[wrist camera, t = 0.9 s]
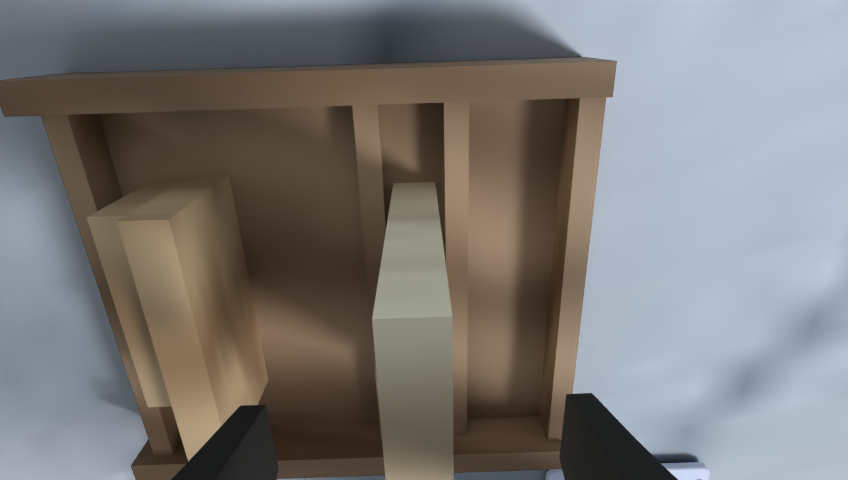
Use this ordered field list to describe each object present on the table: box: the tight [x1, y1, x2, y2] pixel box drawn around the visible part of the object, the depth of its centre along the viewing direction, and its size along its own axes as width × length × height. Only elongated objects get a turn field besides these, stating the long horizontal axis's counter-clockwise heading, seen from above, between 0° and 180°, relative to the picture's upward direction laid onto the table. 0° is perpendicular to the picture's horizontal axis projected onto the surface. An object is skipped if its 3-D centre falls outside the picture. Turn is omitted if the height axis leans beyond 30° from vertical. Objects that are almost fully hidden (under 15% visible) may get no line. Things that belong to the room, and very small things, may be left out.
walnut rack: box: [0, 57, 617, 480], centre depth 18 cm, size 16×18×3 cm
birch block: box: [372, 182, 454, 480], centre depth 15 cm, size 8×2×9 cm, turn 2°
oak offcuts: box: [87, 175, 268, 461], centre depth 17 cm, size 9×3×4 cm, turn 2°
